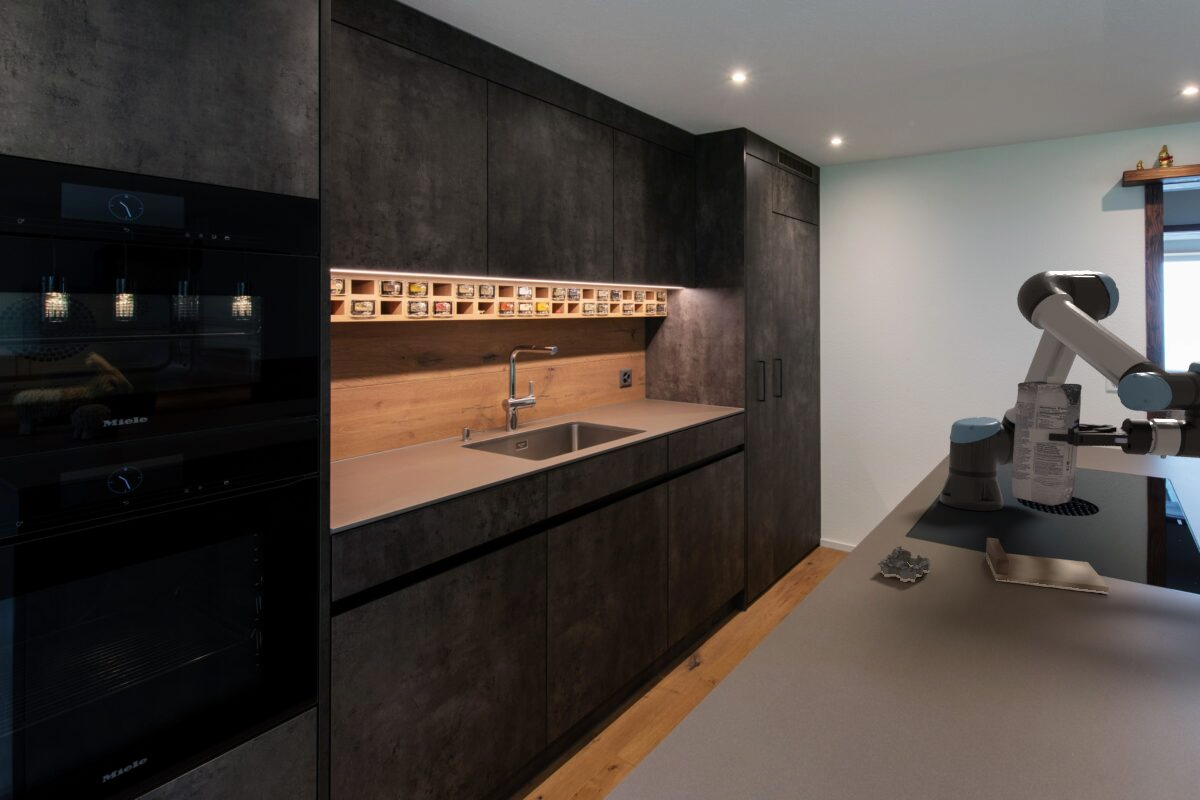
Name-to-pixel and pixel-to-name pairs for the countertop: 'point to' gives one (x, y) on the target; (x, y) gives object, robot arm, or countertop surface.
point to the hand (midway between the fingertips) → (1024, 431)
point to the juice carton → (1045, 465)
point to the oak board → (1051, 572)
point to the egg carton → (904, 564)
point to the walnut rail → (997, 556)
